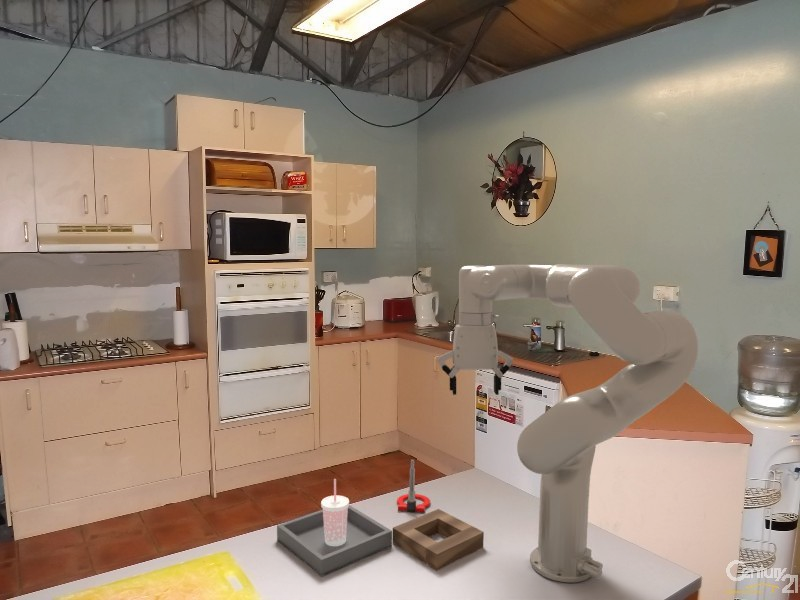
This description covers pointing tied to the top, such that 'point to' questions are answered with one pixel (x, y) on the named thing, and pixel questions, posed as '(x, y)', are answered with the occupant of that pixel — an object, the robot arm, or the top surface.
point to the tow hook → (412, 497)
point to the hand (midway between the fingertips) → (475, 393)
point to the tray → (323, 559)
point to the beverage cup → (335, 518)
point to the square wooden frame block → (444, 552)
